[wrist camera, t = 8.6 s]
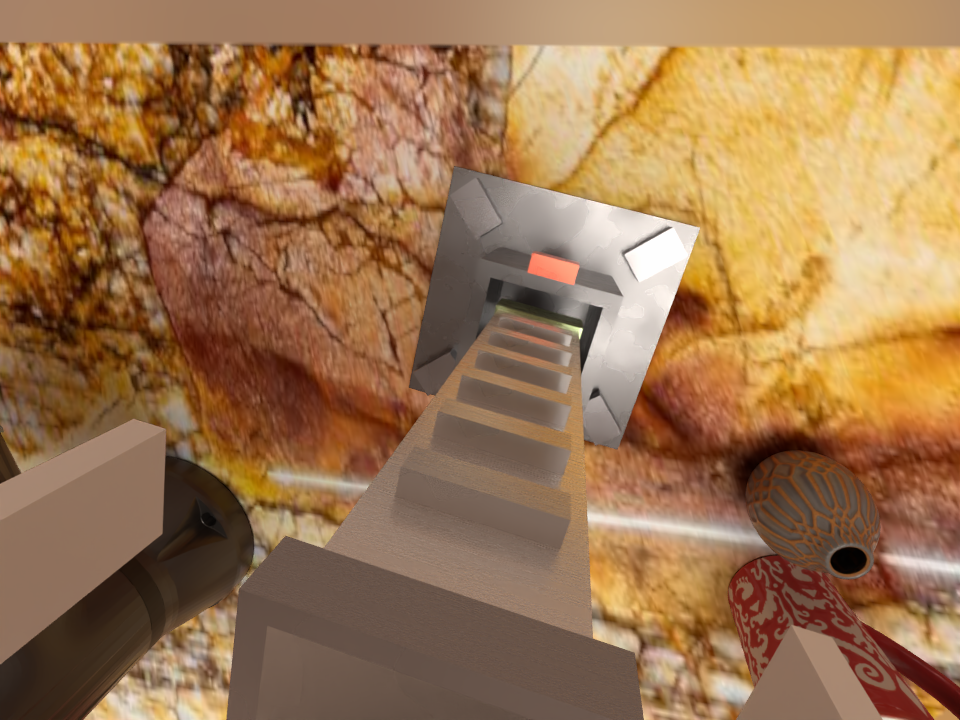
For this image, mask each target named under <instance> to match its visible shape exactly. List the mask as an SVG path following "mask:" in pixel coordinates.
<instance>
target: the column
mask: <svg viewBox="0 0 960 720" xmlns="http://www.w3.org/2000/svg"><path fill="white" fill-rule="evenodd" d="M582 330H583V324H582V320H581V319H577V318H574V317H570V316H566V315H563V314H559V313H556V312H552V311H548V310H545V309H541V308H537V307H534V306H530V305H526V304H523V303H519V302H515V301H512V300H508V299H504V298H501V300H500V301H499V302H498V303H497V305H496V308H495V312H494V316H493V317H492V318H491V320H490V321H489V323H488V324H487V325H486V327H485V328H484V329H483V331H482V332H481V333H480V335H479V336H478V338H477V339H476V340H475V342H474V343H473V344H472V346H471V347H470V349H469V350H468V351H467V353H466V354H465V355H464V357H463V358H462V360H461V361H460V362H459V364H458V365H457V366H456V368H455V369H454V371H453V372H452V373H451V375H450V376H449V377H448V379H447V380H446V381H445V383H444V384H443V386H442V387H441V388H440V390H439V391H438V392H437V394H436V395H435V397H434V398H433V399H432V401H431V402H430V403H429V405H428V406H427V408H426V409H425V410H424V412H423V413H422V414H421V416H420V417H419V419H418V420H417V421H416V423H415V424H414V425H413V427H412V428H411V429H410V431H409V432H408V434H407V435H406V436H405V438H404V439H403V440H402V442H401V443H400V445H399V446H398V447H397V449H396V450H395V451H394V453H393V454H392V456H391V457H390V458H389V460H388V461H387V462H386V464H385V465H384V467H383V468H382V469H381V471H380V472H379V473H378V475H377V476H376V478H375V479H374V480H373V482H372V483H371V484H370V486H369V487H368V488H367V490H366V491H365V493H364V494H363V495H362V497H361V498H360V499H359V501H358V502H357V504H356V505H355V506H354V508H353V509H352V510H351V512H350V513H349V515H348V516H347V517H346V519H345V520H344V521H343V523H342V524H341V526H340V527H339V528H338V530H337V531H336V532H335V534H334V535H333V536H332V538H331V539H330V541H329V542H328V543H327V545H326V546H325V547H324V549H323V548H320V547H317V546H314V545H311V544H308V543H305V542H302V541H299V540H296V539H293V538H290V537H287V536H285V537H284V538H283V540H282V541H281V542H280V543H279V544H278V545H277V546H276V548H275V549H274V550H273V551H272V552H271V553H270V554H269V556H268V557H267V558H266V559H265V560H264V561H263V562H262V564H261V565H260V566H259V567H258V568H257V569H256V570H255V572H254V573H253V574H252V575H251V576H250V577H249V578H248V580H247V581H246V582H245V583H244V584H243V585H242V587H241V588H240V589H239V597H238V607H237V617H236V627H235V638H234V648H233V658H232V669H231V679H230V689H229V699H228V710H227V720H644V718H643V711H642V703H641V696H640V689H639V681H638V674H637V667H636V660H635V653H634V652H631V651H628V650H625V649H622V648H619V647H616V646H613V645H610V644H607V643H604V642H601V641H598V640H595V639H593V632H592V610H591V588H590V566H589V544H588V521H587V499H586V477H585V455H584V433H583V411H582V389H581V367H580V344H579V339H580V336H581V333H582Z"/></svg>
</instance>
